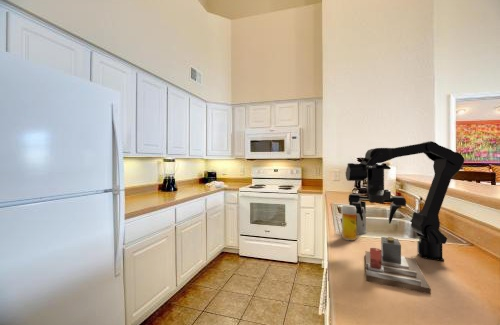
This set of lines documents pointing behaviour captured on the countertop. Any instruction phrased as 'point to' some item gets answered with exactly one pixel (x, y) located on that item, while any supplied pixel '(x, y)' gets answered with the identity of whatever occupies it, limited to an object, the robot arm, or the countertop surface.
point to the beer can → (349, 222)
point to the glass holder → (359, 223)
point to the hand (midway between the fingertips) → (375, 221)
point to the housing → (391, 250)
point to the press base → (399, 275)
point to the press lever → (375, 261)
